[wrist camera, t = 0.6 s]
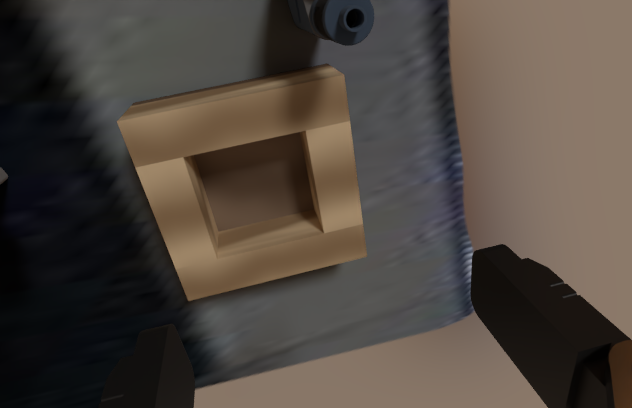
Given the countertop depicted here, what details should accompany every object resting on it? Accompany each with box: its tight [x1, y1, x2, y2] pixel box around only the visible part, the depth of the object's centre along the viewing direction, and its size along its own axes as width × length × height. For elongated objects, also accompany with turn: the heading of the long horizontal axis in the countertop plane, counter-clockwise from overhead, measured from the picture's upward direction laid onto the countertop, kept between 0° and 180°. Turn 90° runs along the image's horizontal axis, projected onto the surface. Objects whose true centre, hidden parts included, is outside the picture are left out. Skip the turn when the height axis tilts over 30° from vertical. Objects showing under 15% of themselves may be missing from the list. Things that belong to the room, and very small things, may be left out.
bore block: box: [117, 64, 367, 301], centre depth 31 cm, size 14×14×5 cm
